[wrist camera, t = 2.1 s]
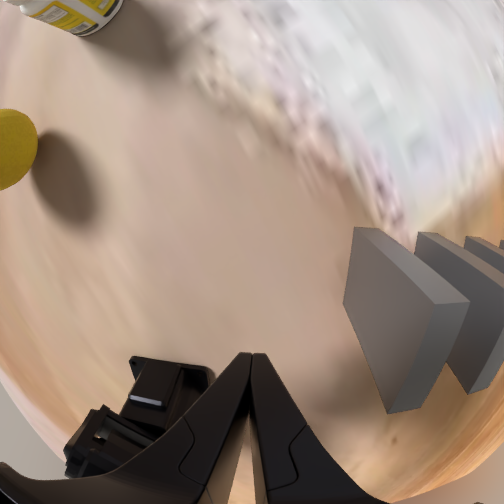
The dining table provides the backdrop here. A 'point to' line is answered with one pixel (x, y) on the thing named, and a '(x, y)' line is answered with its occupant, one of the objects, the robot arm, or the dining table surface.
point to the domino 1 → (400, 317)
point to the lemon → (16, 146)
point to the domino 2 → (470, 309)
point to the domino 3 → (486, 252)
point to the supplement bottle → (71, 13)
